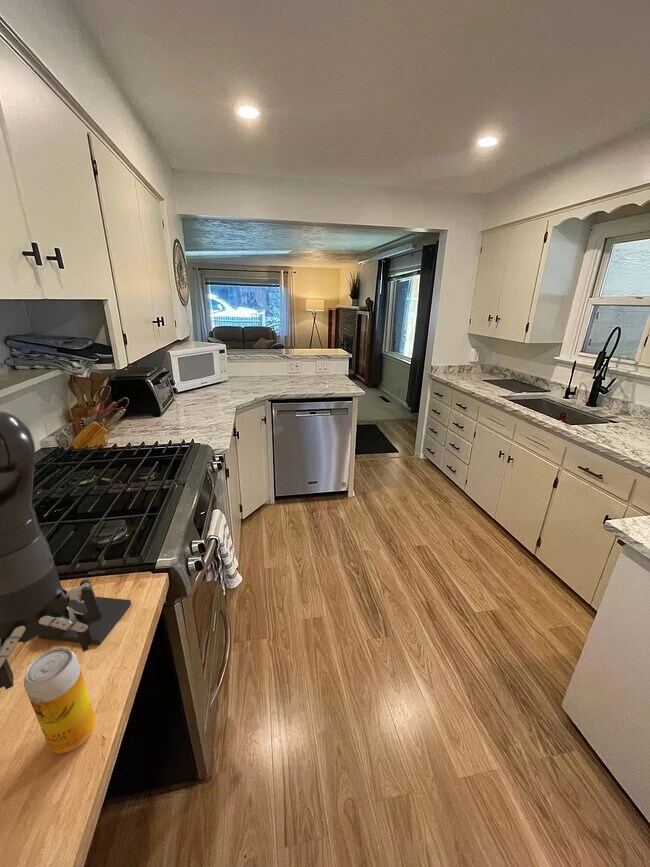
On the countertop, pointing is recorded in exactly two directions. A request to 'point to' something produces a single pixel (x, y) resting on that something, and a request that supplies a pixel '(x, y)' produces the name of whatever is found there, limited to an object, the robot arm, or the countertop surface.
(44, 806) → the countertop surface
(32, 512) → the robot arm
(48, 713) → the beer can
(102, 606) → the scale
